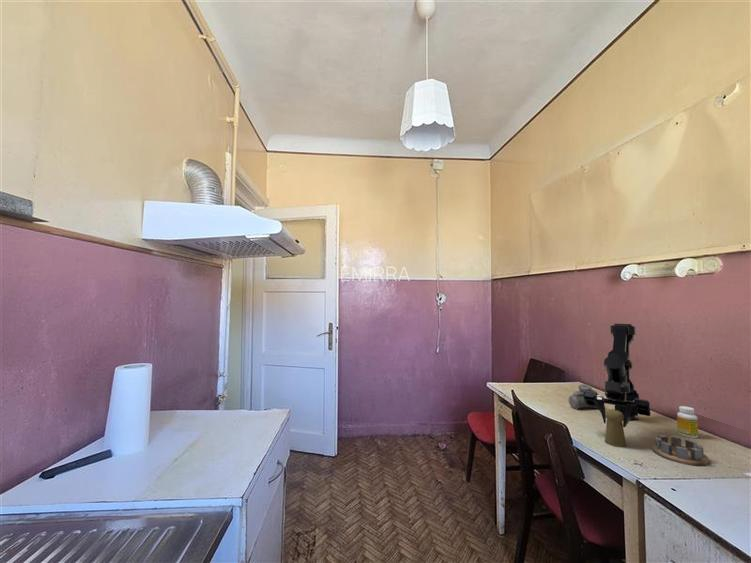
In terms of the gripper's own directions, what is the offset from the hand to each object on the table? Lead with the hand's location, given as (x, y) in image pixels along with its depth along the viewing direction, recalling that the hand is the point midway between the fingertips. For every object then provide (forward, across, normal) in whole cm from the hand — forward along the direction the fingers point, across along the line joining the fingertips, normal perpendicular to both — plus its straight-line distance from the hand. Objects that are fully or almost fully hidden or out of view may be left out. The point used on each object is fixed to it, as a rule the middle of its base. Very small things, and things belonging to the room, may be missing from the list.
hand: (614, 424), depth 111 cm
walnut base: (+2, +16, +8) cm, 18 cm away
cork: (+4, 0, +6) cm, 7 cm away
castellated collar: (+2, +16, +8) cm, 18 cm away
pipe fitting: (-21, -15, +31) cm, 41 cm away
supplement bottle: (-14, +19, +24) cm, 34 cm away
